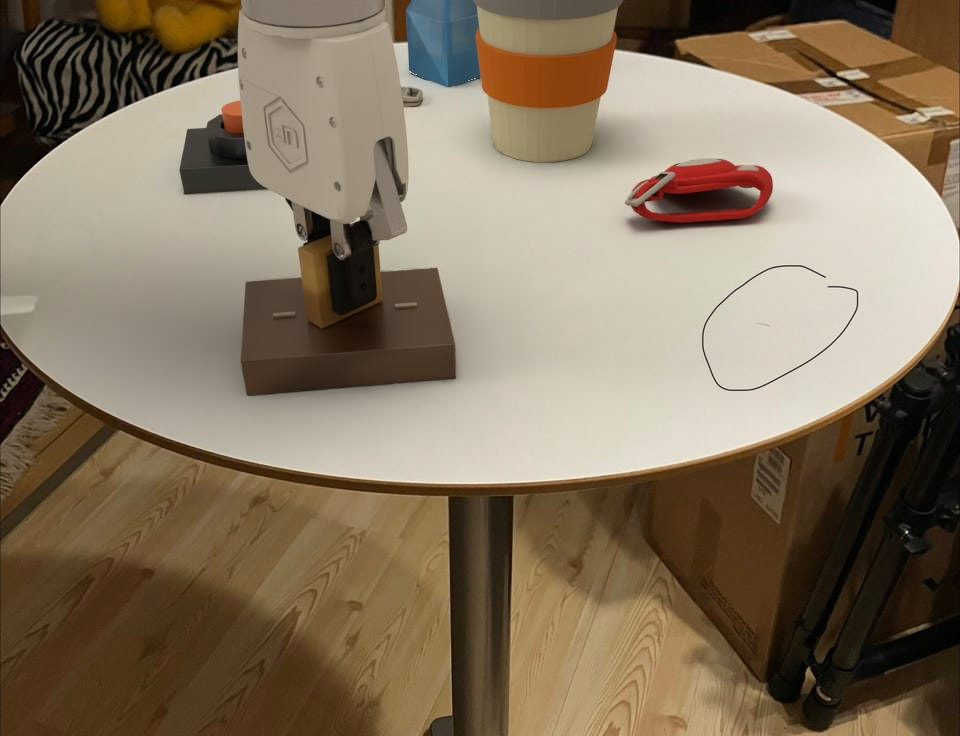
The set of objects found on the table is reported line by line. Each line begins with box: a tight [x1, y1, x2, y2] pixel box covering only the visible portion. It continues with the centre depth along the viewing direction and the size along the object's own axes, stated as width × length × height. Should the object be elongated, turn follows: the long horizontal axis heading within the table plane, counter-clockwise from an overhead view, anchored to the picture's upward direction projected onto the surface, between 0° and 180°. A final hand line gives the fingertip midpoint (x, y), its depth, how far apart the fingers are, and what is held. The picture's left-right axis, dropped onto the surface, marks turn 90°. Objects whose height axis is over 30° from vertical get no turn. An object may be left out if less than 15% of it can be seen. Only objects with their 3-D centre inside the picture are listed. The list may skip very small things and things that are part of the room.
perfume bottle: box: [405, 0, 481, 88], centre depth 105 cm, size 6×6×12 cm
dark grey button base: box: [179, 113, 268, 195], centre depth 89 cm, size 11×9×4 cm
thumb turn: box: [297, 219, 383, 329], centre depth 65 cm, size 5×2×5 cm, turn 134°
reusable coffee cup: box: [473, 0, 624, 163], centre depth 90 cm, size 13×12×15 cm
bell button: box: [220, 100, 244, 133], centre depth 88 cm, size 4×4×2 cm
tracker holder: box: [624, 158, 774, 223], centre depth 83 cm, size 12×4×10 cm
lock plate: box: [240, 267, 457, 396], centre depth 68 cm, size 13×10×3 cm
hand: (343, 298), depth 66 cm, fingers closed, pressing on thumb turn
